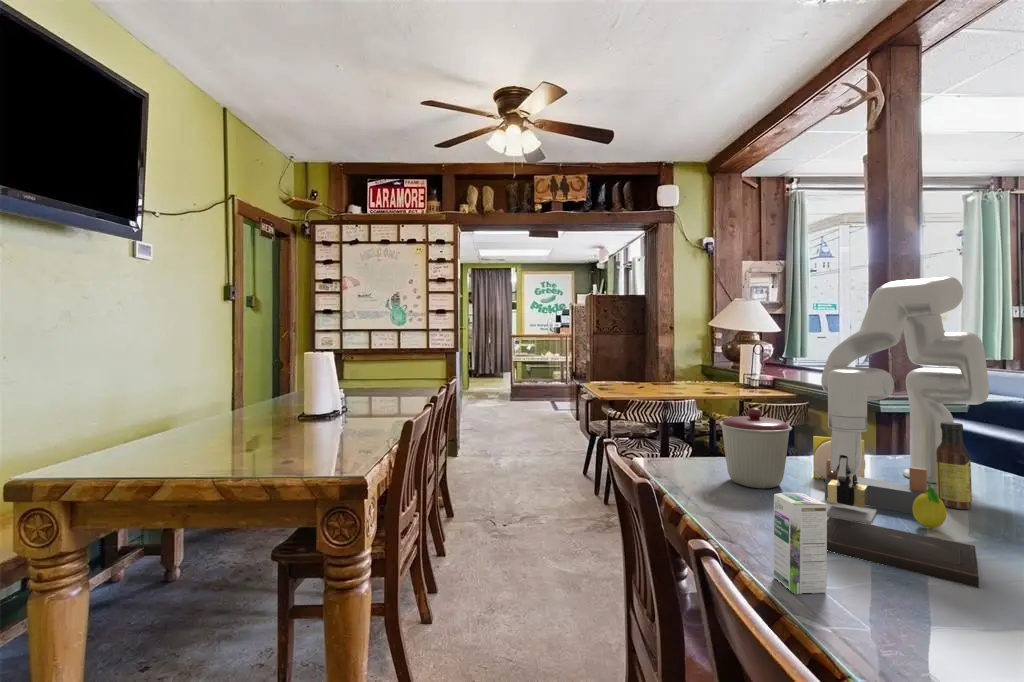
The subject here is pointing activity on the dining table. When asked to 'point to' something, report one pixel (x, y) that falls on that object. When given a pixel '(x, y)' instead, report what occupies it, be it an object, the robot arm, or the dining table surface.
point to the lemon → (929, 509)
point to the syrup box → (800, 543)
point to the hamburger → (828, 456)
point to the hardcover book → (904, 550)
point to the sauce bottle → (953, 468)
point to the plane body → (889, 489)
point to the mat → (851, 512)
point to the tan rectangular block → (859, 493)
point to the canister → (755, 449)
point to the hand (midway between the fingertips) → (847, 500)
